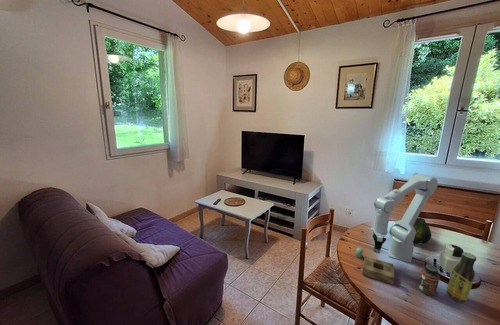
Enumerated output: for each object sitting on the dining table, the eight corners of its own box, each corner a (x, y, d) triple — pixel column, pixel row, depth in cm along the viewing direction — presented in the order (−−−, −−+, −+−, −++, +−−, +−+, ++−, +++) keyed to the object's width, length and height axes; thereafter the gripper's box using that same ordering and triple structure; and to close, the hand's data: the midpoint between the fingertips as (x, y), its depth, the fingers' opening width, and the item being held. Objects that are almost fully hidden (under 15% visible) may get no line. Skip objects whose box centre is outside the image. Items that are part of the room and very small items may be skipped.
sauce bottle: (441, 291, 93) (452, 249, 88) (455, 290, 93) (466, 248, 89) (457, 304, 87) (469, 260, 82) (472, 303, 87) (484, 259, 83)
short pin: (362, 255, 116) (363, 248, 115) (361, 258, 113) (362, 251, 112) (356, 253, 117) (356, 247, 116) (355, 256, 115) (356, 250, 114)
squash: (392, 231, 129) (417, 218, 120) (397, 222, 140) (419, 210, 132) (412, 253, 124) (439, 242, 116) (414, 242, 135) (439, 231, 127)
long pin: (380, 250, 111) (382, 238, 109) (380, 254, 108) (382, 241, 107) (373, 248, 112) (375, 236, 111) (373, 252, 110) (375, 239, 108)
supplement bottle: (420, 294, 91) (425, 270, 89) (415, 283, 97) (420, 261, 94) (438, 298, 89) (444, 274, 87) (432, 287, 95) (437, 264, 92)
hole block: (392, 270, 105) (393, 264, 104) (393, 284, 96) (394, 277, 96) (363, 262, 111) (364, 256, 110) (362, 274, 102) (363, 268, 101)
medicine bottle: (455, 266, 108) (460, 244, 105) (463, 276, 102) (469, 253, 99) (437, 262, 110) (442, 241, 108) (444, 272, 104) (449, 249, 101)
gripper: (372, 214, 115) (369, 237, 118) (371, 226, 103) (367, 252, 106) (388, 217, 111) (384, 241, 114) (389, 230, 99) (385, 257, 102)
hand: (377, 247), depth 110 cm, fingers closed on long pin, 3 cm apart
